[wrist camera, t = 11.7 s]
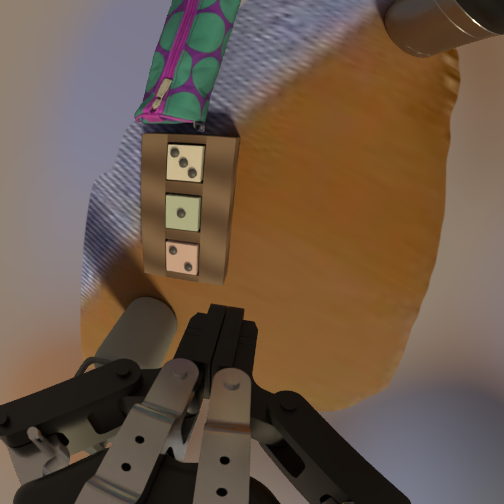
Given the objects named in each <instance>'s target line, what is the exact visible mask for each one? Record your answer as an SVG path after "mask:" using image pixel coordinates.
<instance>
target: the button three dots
mask: <svg viewBox="0 0 504 504" xmlns="http://www.w3.org/2000/svg"><path fill="white" fill-rule="evenodd" d="M205 152H206V145H198V144H181V143H174V144H169V145H168V157H167V179H170V180H183V181H194V182H201V181H202V180H203V178H204V165H205Z"/></svg>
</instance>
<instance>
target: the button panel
mask: <svg viewBox="0 0 504 504" xmlns="http://www.w3.org/2000/svg"><path fill="white" fill-rule="evenodd" d="M170 142H180V143H198V144H206V152H205V165H204V178H203V182H194V181H183V180H170V179H167V157H168V145H169V144H170ZM239 144H240V137H233V136H221V135H208V134H190V133H159V132H155V133H145V134H143V139H142V163H141V219H142V244H143V261H144V273H148V274H153V275H159V276H165V277H171V278H177V279H183V280H189V281H195V282H202V283H208V284H214V285H221V286H223V284H224V281H225V278H226V275H227V272H228V260H229V248H230V236H231V225H232V214H233V204H234V193H235V183H236V173H237V163H238V154H239ZM168 192H170V193H180V194H191V195H200V196H202V210H201V230H198V231H189V230H181V229H173V228H166V195H167V194H168ZM167 239H171V240H179V241H186V242H193V243H200V256H199V271H198V273H197V275H192V274H186V273H180V272H174V271H167V266H166V241H167Z"/></svg>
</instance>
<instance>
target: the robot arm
mask: <svg viewBox="0 0 504 504" xmlns="http://www.w3.org/2000/svg"><path fill="white" fill-rule="evenodd" d="M384 22H385V27H386V29H387V32H388V34H389V35H390V37H391V39H392V40H393V41H394V42H395V44H396V45H398V46H399V47H400V48H401V49H402V50H404V51H405V52H407V53H408V54H411V55H413V56H416V57H422V58H425V57H430V56H433V55H436V54H438V53H441V52H445V51H448V50H451V49H454V48H457V47H460V46H463V45H466V44H470V43H473V42H477V41H480V40H484V39H487V38H491V37H495V36H499V35H503V34H504V0H394V4H393V5H391V6H390V7H389V8H388V10H387V11H386V14H385V20H384ZM243 318H244V309H243V308H236V307H230V306H228V307H227V306H224V305H218V304H211V305H210V308H209V310H208V313H207V314H204V313H199V312H198V313H197V314H196V315H194V316H193V317H192V318H191V319H190V321H189V323H188V326H187V328H186V330H185V333H184V335H183V337H182V340H181V342H180V344H179V347H178V349H177V351H176V354H175V356H174V358H173V359H172V360H170V361H168V362H166V363H165V364H164V366H163V367H162V368H157V369H140V366H139V365H138V364H137V363H136V362H135V361H133V360H131V359H125V358H123V359H117V360H115V361H112V362H110V363H108V364H105V365H103V366H100V367H98V368H96V369H93V370H91V371H89V372H86V373H84V374H81V375H79V376H76V377H74V378H71V379H69V380H67V381H64V382H62V383H59V384H56V385H54V386H51V387H49V388H47V389H44V390H41V391H38V392H36V393H33V394H31V395H28V396H25V397H23V398H20V399H17V400H14V401H12V402H9V403H6V404H3V405H0V439H1V440H2V441H3V442H4V443H5V445H6V446H7V448H8V451H9V454H10V457H11V460H12V463H13V465H14V468H15V471H16V473H17V476H18V478H19V481H20V483H21V485H22V486H21V487H20V488H19V489H18V491H17V492H16V494H15V496H14V500H13V504H280V503H279V501H278V500H277V499H276V497H275V496H274V495H273V493H272V492H271V491H270V490H269V489H268V488H267V487H266V486H265V485H263V484H262V483H261V482H259V481H258V480H256V479H255V478H253V477H250V451H251V450H250V449H251V438H253V439H255V440H257V441H259V444H260V445H261V447H262V448H263V449H264V451H265V452H266V453H267V454H268V456H269V457H270V458H271V459H272V461H273V462H274V463H275V464H276V465H277V467H278V468H279V469H280V470H281V471H282V473H283V474H284V475H285V476H286V477H287V478H288V480H289V481H290V482H291V483H292V484H293V485H294V487H295V488H296V489H297V490H298V491H299V492H300V493H301V494H302V495H303V496H304V498H305V499H306V500H307V501H308V502H309V503H310V504H411V502H410V500H409V499H408V498H407V497H406V496H405V495H404V494H403V493H402V492H401V491H399V490H398V489H397V488H396V487H395V486H394V485H393V484H392V483H390V482H389V481H388V480H387V479H386V478H385V477H384V476H383V475H381V474H380V473H379V472H378V471H377V470H376V469H375V468H374V467H373V466H372V465H371V464H370V463H368V462H367V461H366V460H365V459H364V458H363V457H362V456H361V455H360V454H359V453H358V452H357V451H356V450H355V449H354V448H353V447H352V446H350V444H349V443H348V442H347V441H346V440H344V439H343V438H342V437H341V436H340V435H339V434H338V433H337V432H336V431H335V430H334V429H333V428H332V427H331V426H330V425H329V423H328V422H326V420H325V419H324V418H322V416H321V415H320V414H319V413H318V412H317V411H316V410H315V409H314V408H313V407H312V406H311V405H310V404H309V403H308V402H307V401H306V400H305V399H304V398H303V397H302V396H301V395H300V394H298V393H296V392H293V391H280V392H277V393H275V394H273V393H271V392H268V391H266V390H264V389H262V388H260V387H259V386H258V385H257V384H256V383H255V381H254V379H253V376H252V371H253V364H254V356H255V349H256V341H257V334H258V329H257V327H256V324H255V322H253V321H247V320H243ZM203 398H206V399H210V401H209V408H208V414H207V420H206V423H205V426H204V431H203V437H202V444H201V451H200V457H199V463H184V459H185V452H186V448H187V445H188V442H189V439H190V437H191V434H192V432H193V429H194V427H195V424H196V421H197V419H198V415H199V413H200V408H201V404H202V401H203ZM115 435H116V437H115V439H114V441H113V442H112V445H111V446H110V447H109V448H106V449H103V450H100V451H98V452H96V453H94V454H92V455H90V456H88V457H86V458H84V459H81V460H79V461H77V462H75V463H73V464H71V465H69V461H70V456H71V455H73V454H75V453H78V452H80V451H83V450H85V449H87V448H89V447H92V446H94V445H96V444H98V443H101V442H103V441H105V440H107V439H109V438H111V437H113V436H115Z"/></svg>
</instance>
